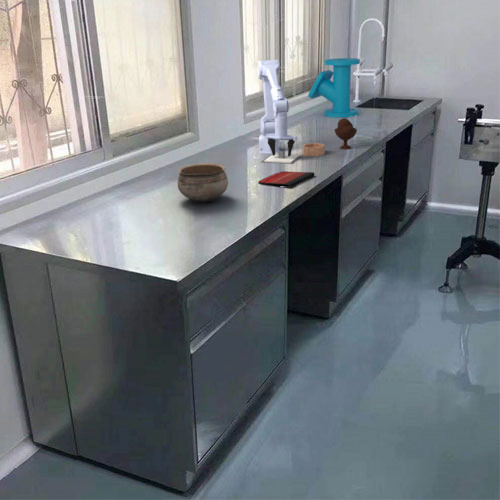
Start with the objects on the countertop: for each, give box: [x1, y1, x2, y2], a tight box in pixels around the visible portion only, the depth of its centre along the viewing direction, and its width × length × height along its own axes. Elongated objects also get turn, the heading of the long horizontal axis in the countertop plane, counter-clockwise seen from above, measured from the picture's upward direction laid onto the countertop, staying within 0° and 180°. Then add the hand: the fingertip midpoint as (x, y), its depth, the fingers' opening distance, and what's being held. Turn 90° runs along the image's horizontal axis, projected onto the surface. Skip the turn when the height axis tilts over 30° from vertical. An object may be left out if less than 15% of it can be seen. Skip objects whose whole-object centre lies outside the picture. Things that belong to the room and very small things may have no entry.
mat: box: [260, 154, 303, 165], centre depth 275 cm, size 16×16×1 cm
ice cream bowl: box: [334, 117, 358, 150], centre depth 292 cm, size 11×11×15 cm
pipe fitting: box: [308, 57, 361, 118], centre depth 384 cm, size 22×32×35 cm
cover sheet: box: [263, 150, 300, 164], centre depth 275 cm, size 13×13×4 cm
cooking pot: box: [177, 162, 229, 204], centre depth 219 cm, size 25×19×12 cm
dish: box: [302, 142, 326, 157], centre depth 283 cm, size 10×10×4 cm
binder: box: [257, 170, 315, 190], centre depth 243 cm, size 16×2×21 cm
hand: (281, 155), depth 275 cm, fingers open, 7 cm apart
